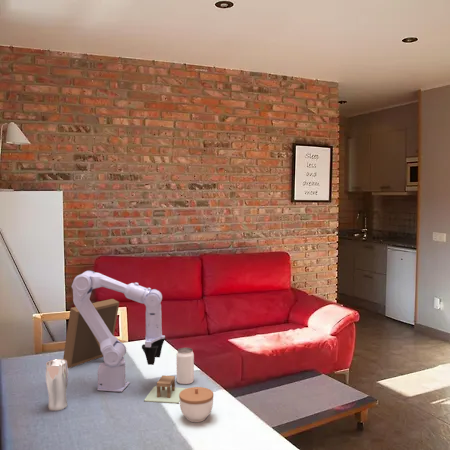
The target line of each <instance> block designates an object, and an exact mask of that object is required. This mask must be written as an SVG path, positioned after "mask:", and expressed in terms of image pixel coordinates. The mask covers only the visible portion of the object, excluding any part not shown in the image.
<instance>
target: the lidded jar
mask: <svg viewBox="0 0 450 450" xmlns="http://www.w3.org/2000/svg"><path fill="white" fill-rule="evenodd" d="M179 398H180V402H179V407H180V410H181V411H180V412H181V413H182V415H183V416H184V418H186V419H187V421H189V422H192V423H200V422H203V421H205V420H206V419H207V417H208V416H210V414H211V412H212V409H213V407H214V406H213V405H214V392H213V390H211V389H210V388H207V387H203V386H202V387H201V386H192V387H188V388H187V387H186V389H184V390H183V391H181V392H180V394H179Z"/></svg>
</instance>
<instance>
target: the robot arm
mask: <svg viewBox="0 0 450 450" xmlns="http://www.w3.org/2000/svg"><path fill="white" fill-rule="evenodd" d="M99 288H106V289H109V290H111V291H115V292H118V293H122V294H124V296H125V298H126V299H128V300H132V301H134V302H137V303H140V304H142V305H143V304H144V306H145V337H144V339H145V342H144V344H142V345H141V349H142V351H143V353H144V355H145V358H146V364H147V365H151V366H152V365H153V366H154V365H155V362H156V358H160V357H161V355H162V348H163V345H164V342H165V340H166V335H163V329H162V326H163V325H162V324H163V323H162V317H163V316H162V313H163V312H162V304H161V302H162V300H163V294H162V292H161V291H160V290H158V289H156V288H153V289H152V288H151V287H145V286H142V285H139V282H131V283H128V284H126V283H124V282H122V281H119V280H117V279H115V278H112V277H109V276H107V275H104V274H103V273H100V272H95V271H93V270H86V271H83V272H82V273H80V274H78V275H76V276H75V277H74V278H73V281H72V283H71V289H72V300H73V301H72V303H73V304H74V307H77V309H78V311H79V312H80V314H81V315H82V317H83V318H84V320H85V321H86V323H87V325H88V326H89V328H90V329H91V331H92V332H93V334H94V335H95V337H96V339H97V340H98V342H99V343H100V349H101V352H102V354H103V361H104V362H100V363H99V366H98V368H97V389H96V390H97V391H101V392H119V393H121V392H123V391H124V390H125V389H126V388H127V387H128V385H130V381H126V360H125V358H124V357H125V354H126V353H127V347H126V345H125V343H123V342H122V341H120V340H119V339H118V337H116V336H115V335H114V336H113V335H112V334H111V332H110V331H109V329H108V327H107V326H106V324H105V323H104V321H103V320H102V318H101V317H100V315H99V313H98V312H97V310H96V309H95V307H94V306H93V304H92V303H93V302H92V301H91V300H90V298H91V295H92V292H93V290H95V289H99Z"/></svg>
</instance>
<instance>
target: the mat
mask: <svg viewBox="0 0 450 450" xmlns="http://www.w3.org/2000/svg"><path fill="white" fill-rule="evenodd" d="M184 389H187V387H176V386H175V391H172V386H171V397H170V398H167V387H165V390H162V387H161V396H160V397H157V385H155V386H153V387H152V389H151V390H150V391H149V393H148V394H147V395H146V397H145V398H144V400H143V402H146V403H147V402H149V403H163V404H177V405H178V404H179V405H180V398H179V394H180V392H181V391H183V390H184Z"/></svg>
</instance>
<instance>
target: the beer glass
mask: <svg viewBox="0 0 450 450" xmlns="http://www.w3.org/2000/svg"><path fill="white" fill-rule="evenodd" d="M45 366H46V367H45V384H46V387H47V393H48V403H47V404H48V405H47V409H48V410H49V411H51V412H58V411H62V410H65V409H66V408H68V401H67V388H68V381H69V368H68V365H67V360H64V359H63V358H57V359H52V360H48V361H46V365H45ZM64 408H65V409H64Z"/></svg>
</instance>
